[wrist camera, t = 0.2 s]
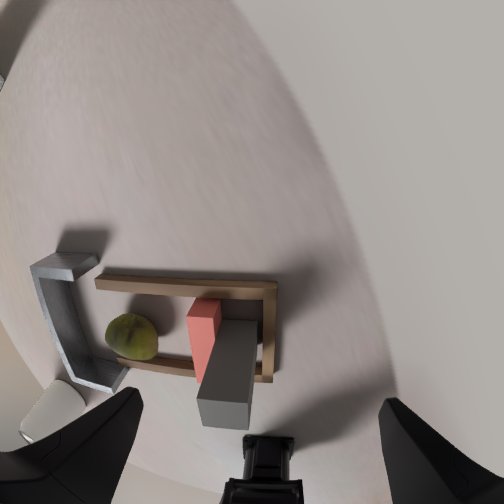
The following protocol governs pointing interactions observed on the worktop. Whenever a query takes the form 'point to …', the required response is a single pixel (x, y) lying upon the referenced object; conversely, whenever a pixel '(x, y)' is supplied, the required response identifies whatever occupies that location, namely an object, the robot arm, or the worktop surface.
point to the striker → (222, 364)
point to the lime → (132, 337)
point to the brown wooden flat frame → (203, 290)
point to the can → (52, 411)
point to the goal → (72, 320)
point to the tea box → (1, 81)
